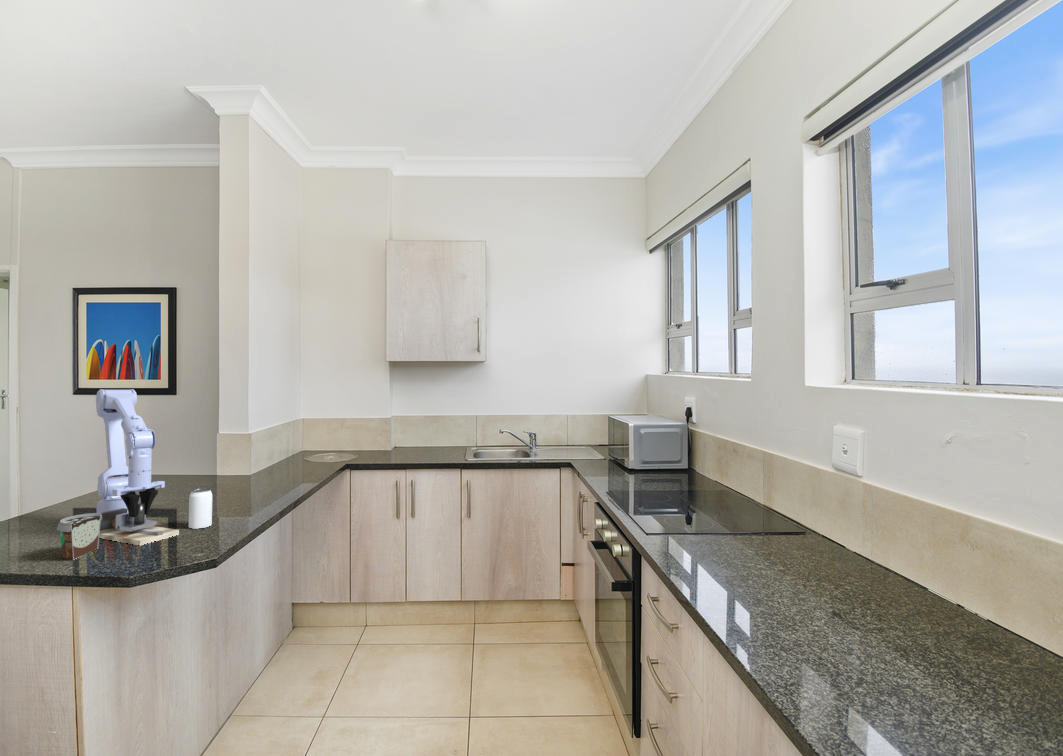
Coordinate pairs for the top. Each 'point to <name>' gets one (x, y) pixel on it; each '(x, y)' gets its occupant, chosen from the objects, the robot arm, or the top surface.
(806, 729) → the top surface
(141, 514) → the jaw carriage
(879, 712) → the top surface
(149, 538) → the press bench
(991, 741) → the top surface
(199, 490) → the can
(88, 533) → the food container
